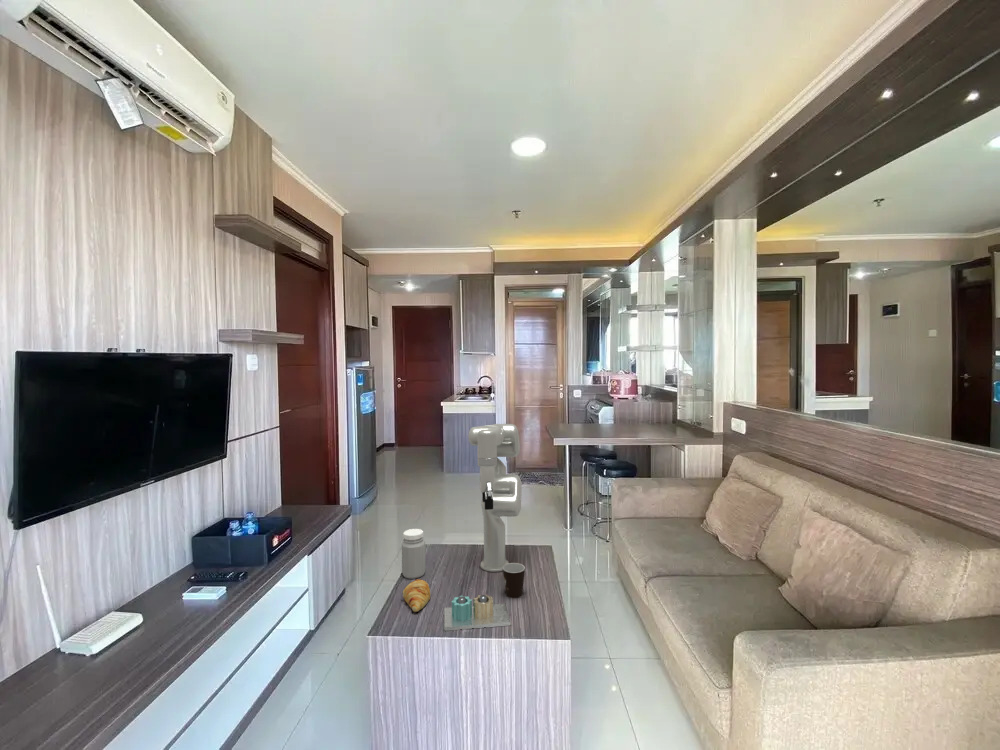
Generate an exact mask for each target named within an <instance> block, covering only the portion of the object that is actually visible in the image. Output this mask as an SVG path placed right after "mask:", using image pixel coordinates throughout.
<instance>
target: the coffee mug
mask: <svg viewBox="0 0 1000 750" xmlns="http://www.w3.org/2000/svg"><path fill="white" fill-rule="evenodd" d="M525 570H526V567H525V565H523V564H522V563H518V562H511V563H509V564H506V565H504V566H503V571H502V574H503V575H502V576H503V583H504V592H505V596H506V597H508V598H511V599H518V598H521V597H522V596H523V593H524V592H523V590H524V582H525V574H526V573H525V572H526V571H525Z"/></svg>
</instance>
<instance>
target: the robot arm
mask: <svg viewBox="0 0 1000 750" xmlns="http://www.w3.org/2000/svg"><path fill="white" fill-rule="evenodd" d="M519 434H520V433H519V430H518V427H517V425H516V424H513V423H493V424H488V425H479V426H472V427H471V428H470V429H469V432H468V436H467V437H468V442H469V444H470V446H477V466H478V467H479V489H480V493H481V494H482V497H481V498H482V499H481V503H480V504H481V512H482V519H483V559H482V560H481V562H480V568H481V569H482V570H484V571H486V572H491V573H497V572H503V566H504V565H506V564H509V560H507V559H506V524H505V523H504V521H503V519H502V518H501V517H505V518H506V517H518V516H519V515H520V513H521V511H522V480H521V478H520V476H519V475H517V474H515V473H513V474H512V473H510V474H509V473H508V474H507V466H506V465H505V463H504V462H503V461H502V460H501V459H500V458H515V457H518V456H519V455H520V451H521V444H520V435H519Z"/></svg>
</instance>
